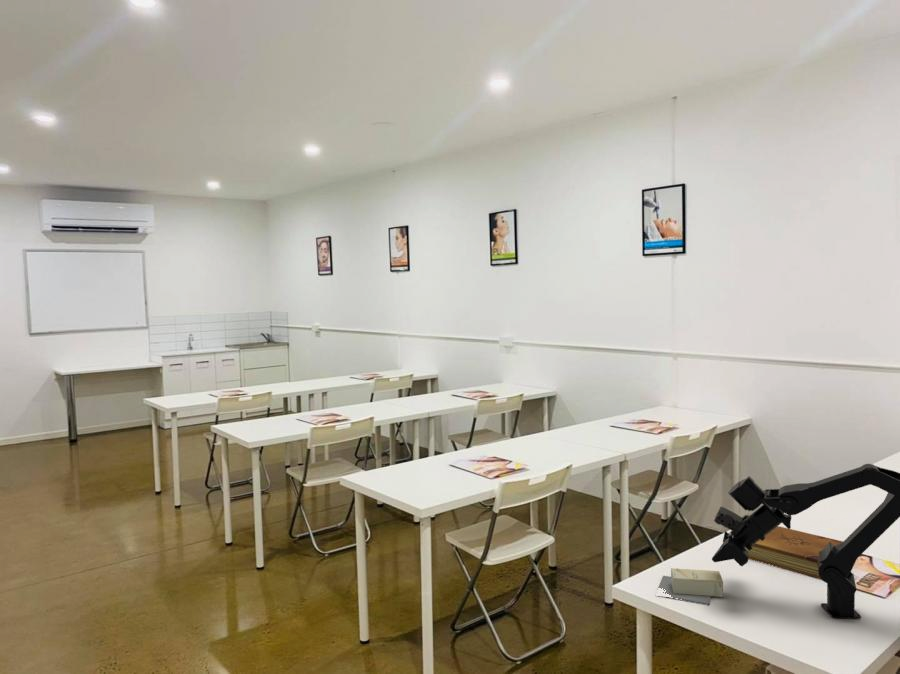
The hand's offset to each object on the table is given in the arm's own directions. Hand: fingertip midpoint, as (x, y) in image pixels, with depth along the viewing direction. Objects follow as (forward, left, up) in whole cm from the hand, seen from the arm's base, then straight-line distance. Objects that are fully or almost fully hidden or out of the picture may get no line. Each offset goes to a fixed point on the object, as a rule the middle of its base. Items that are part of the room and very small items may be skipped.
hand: (713, 560), depth 170 cm
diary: (+22, -29, -9) cm, 37 cm away
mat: (0, +7, -8) cm, 11 cm away
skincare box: (-1, -2, -6) cm, 6 cm away
